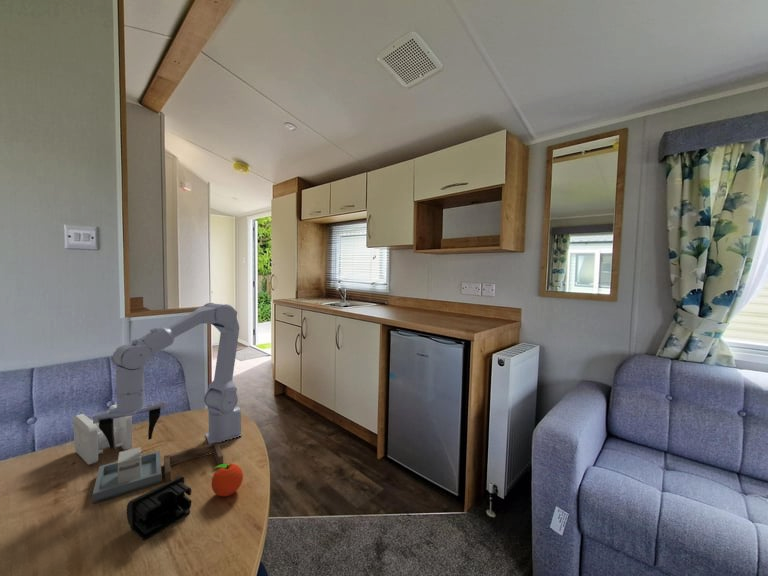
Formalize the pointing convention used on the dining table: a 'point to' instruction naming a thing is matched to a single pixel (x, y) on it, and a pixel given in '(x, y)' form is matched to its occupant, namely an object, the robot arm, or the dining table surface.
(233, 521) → the dining table surface
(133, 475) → the box
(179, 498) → the end cap
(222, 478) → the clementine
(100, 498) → the slate tray
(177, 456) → the walnut bay
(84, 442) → the cable organizer
